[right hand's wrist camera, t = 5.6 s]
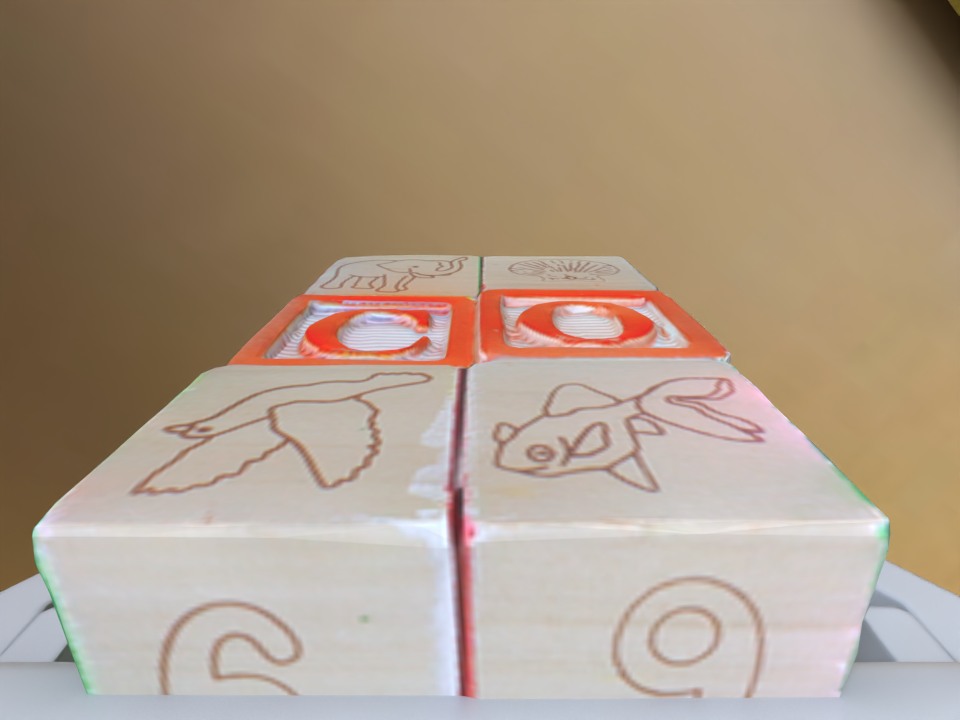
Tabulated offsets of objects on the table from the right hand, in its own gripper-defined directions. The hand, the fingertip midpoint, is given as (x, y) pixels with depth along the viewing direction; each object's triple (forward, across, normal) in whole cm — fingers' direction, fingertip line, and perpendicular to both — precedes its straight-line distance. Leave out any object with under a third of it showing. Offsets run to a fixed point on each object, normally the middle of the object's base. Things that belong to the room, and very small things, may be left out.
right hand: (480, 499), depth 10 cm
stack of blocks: (+4, 0, -7) cm, 8 cm away
